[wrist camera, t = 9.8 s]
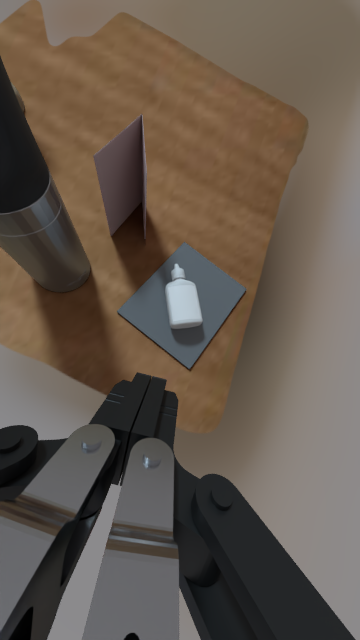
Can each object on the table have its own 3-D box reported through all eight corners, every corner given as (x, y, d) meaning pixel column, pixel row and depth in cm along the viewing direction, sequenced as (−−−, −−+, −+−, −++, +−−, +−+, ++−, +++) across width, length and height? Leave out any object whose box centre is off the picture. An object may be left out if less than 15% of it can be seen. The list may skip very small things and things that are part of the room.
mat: (117, 312, 36) (117, 311, 35) (184, 243, 42) (184, 242, 42) (189, 369, 35) (189, 369, 35) (245, 289, 42) (246, 289, 41)
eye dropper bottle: (199, 319, 32) (187, 254, 35) (167, 327, 34) (157, 263, 37) (205, 324, 36) (193, 265, 39) (175, 331, 38) (166, 274, 41)
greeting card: (138, 198, 44) (136, 110, 30) (168, 216, 44) (180, 136, 30) (107, 233, 40) (87, 152, 26) (139, 253, 40) (138, 181, 26)
